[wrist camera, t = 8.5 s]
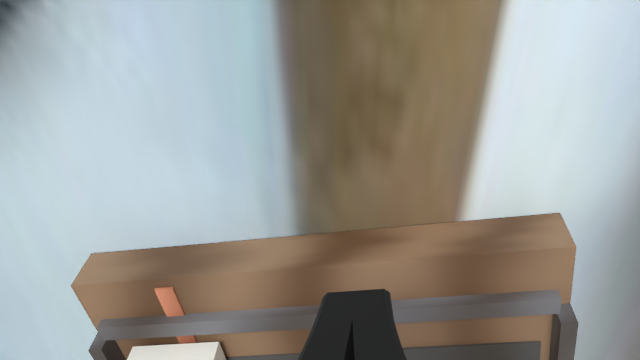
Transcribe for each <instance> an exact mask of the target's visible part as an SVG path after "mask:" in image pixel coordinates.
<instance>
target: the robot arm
mask: <svg viewBox="0 0 640 360" xmlns="http://www.w3.org/2000/svg"><path fill="white" fill-rule="evenodd" d="M298 360H407V359H406V357H405V354H404V351H403V349H402V346H401V343H400V339H399V336H398V333H397V329H396V326H395V322H394V317H393V310H392V303H391V296H390V292H389V291H387V290H385V289H373V290H358V291H344V292H329V293H327V294H326V295H324V296H323V299H322V302H321V305H320V308H319V311H318V314H317V316H316V319H315V322H314V324H313V327H312V329H311V332H310V334H309V336H308V339H307V341H306V343H305V346H304V348H303V350H302V352H301V354H300V356H299V358H298Z"/></svg>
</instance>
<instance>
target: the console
mask: <svg viewBox="0 0 640 360" xmlns="http://www.w3.org/2000/svg"><path fill="white" fill-rule="evenodd" d="M575 253H576V245H575V243H574V241H573V239H572V237H571V235H570V233H569V231H568V229H567V226H566V224H565V222H564V220H563V218H562V216H561V214H560V213H553V214H542V215H530V216H519V217H507V218H496V219H484V220H473V221H461V222H450V223H438V224H427V225H415V226H404V227H392V228H381V229H369V230H358V231H346V232H335V233H323V234H312V235H300V236H289V237H278V238H266V239H255V240H243V241H232V242H220V243H209V244H197V245H186V246H174V247H163V248H151V249H140V250H128V251H117V252H105V253H94V254H91V255H90V256H89V258H88V260H87V261H86V263H85V264H84V266H83V267H82V269H81V270H80V272H79V274H78V275H77V277H76V278H75V280H74V281H73V283H72V285H71V287H72V289H73V290H74V292H75V294H76V295H77V297H78V299H79V301H80V302H81V304H82V306H83V307H84V309H85V311H86V313H87V314H88V316H89V318H90V319H91V321H92V323H93V325H94V326H95V328H96V330H97V331H98V333H97V335H96V337H95V339H94V341H93V343H92V345H91V347H90V349H89V350H88V351H89V352H90V354H91V356H92V357H93V359H94V360H127V358H128V356H129V354H130V352H131V350H132V347H134V346H152V345H169V344H187V343H205V342H219V343H220V346H221V348H222V350H223V353H224V355H225V358H226V360H298V358H299V356H300V354H301V352H302V350H303V348H304V346H305V343H306V341H307V339H308V336H309V334H310V332H311V329H312V327H313V324H314V322H315V319H316V316H317V314H318V311H319V308H320V305H321V302H322V299H323V296H324V295H326V294H327V293H329V292H344V291H358V290H373V289H385V290H387V291H389V292H390V296H391V303H392V310H393V317H394V322H395V326H396V329H397V333H398V336H399V339H400V343H401V346H402V349H403V351H404V354H405V357H406V359H407V360H574V353H575V345H576V337H577V329H578V322H577V319H576V317H575V314H574V312H573V309H572V307H571V304H570V299H571V290H572V280H573V271H574V262H575Z"/></svg>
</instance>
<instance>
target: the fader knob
mask: <svg viewBox="0 0 640 360" xmlns="http://www.w3.org/2000/svg"><path fill="white" fill-rule="evenodd" d="M127 360H226V358H225V355H224V353H223V350H222V348H221V346H220V343H219V342H205V343H187V344H169V345H152V346H134V347H132V350H131V352H130V354H129V356H128V358H127Z"/></svg>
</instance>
